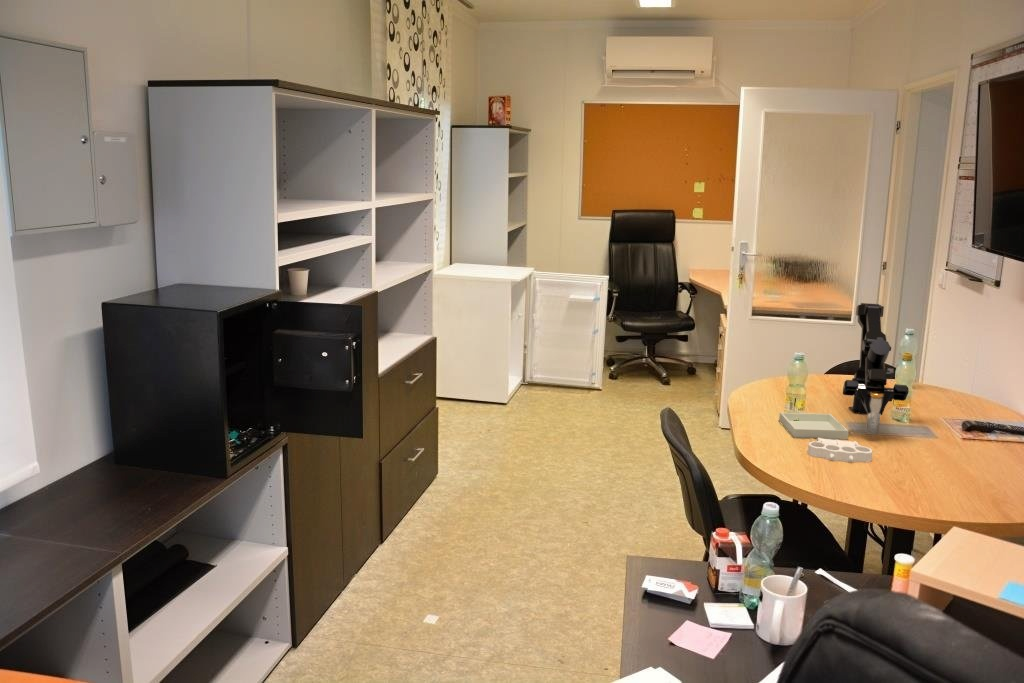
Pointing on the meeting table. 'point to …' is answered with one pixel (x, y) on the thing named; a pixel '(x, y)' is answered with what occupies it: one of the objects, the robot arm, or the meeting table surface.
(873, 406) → the grey cylinder
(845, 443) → the white brass knuckles
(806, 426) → the tray
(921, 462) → the meeting table surface
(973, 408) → the meeting table surface
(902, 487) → the meeting table surface
